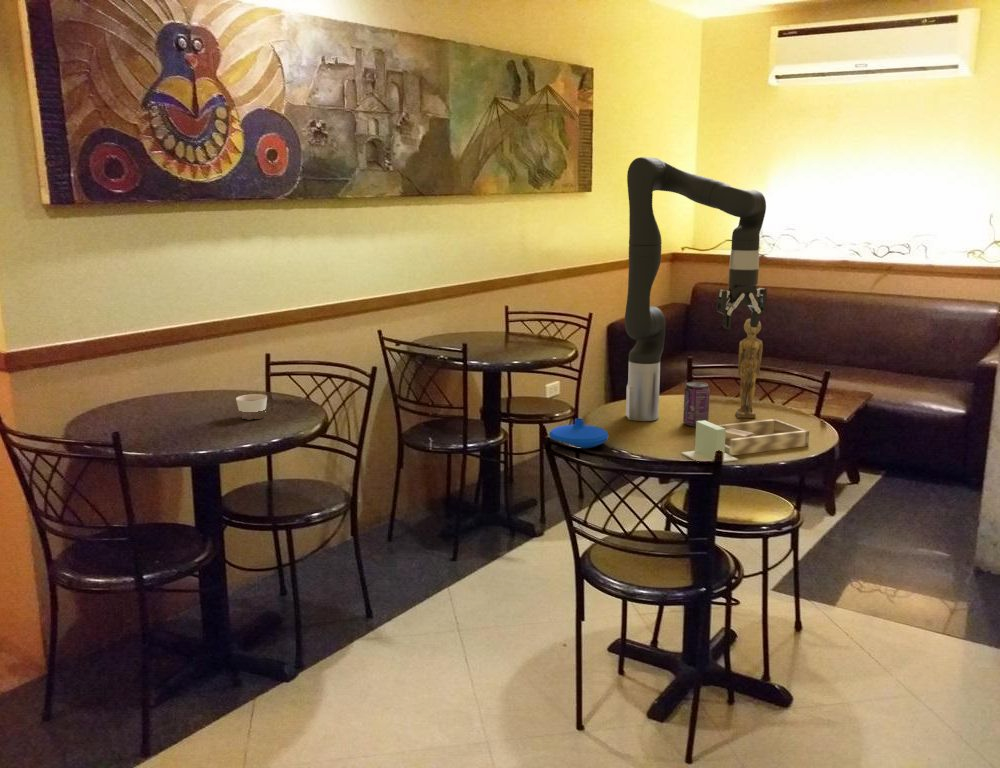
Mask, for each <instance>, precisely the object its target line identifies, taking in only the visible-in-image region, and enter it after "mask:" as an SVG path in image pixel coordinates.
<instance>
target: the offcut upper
mask: <svg viewBox="0 0 1000 768" xmlns="http://www.w3.org/2000/svg"><path fill="white" fill-rule="evenodd" d="M752 436H754V433H751V432H746V431H742V430H737V429H733V428H731V429H728V430H726V434H725V440H727V441H730V439H735V438H743V437H752Z"/></svg>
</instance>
